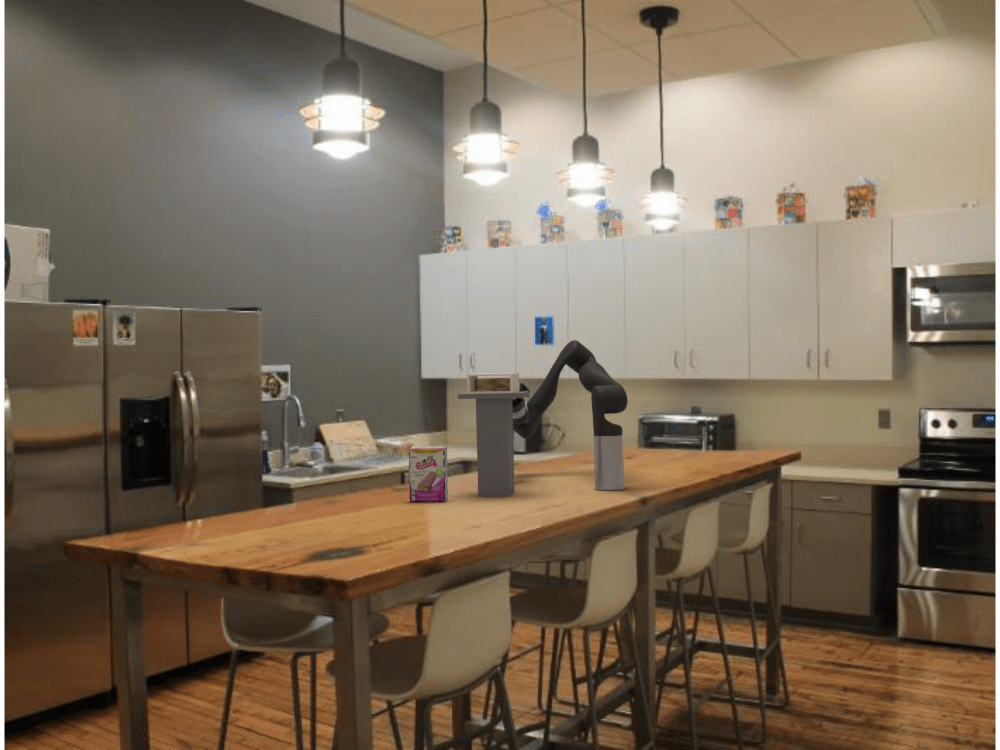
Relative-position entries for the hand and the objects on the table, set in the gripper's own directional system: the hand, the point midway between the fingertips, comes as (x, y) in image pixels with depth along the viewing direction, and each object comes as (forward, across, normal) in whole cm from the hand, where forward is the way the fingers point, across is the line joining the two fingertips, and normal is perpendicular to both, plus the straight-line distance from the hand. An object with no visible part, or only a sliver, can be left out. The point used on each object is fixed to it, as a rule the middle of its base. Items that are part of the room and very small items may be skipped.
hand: (505, 380), depth 326 cm
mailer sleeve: (+14, 0, +12) cm, 19 cm away
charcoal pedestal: (-2, 0, +40) cm, 40 cm away
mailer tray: (+4, 0, +5) cm, 7 cm away
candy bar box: (+10, -18, +47) cm, 51 cm away
